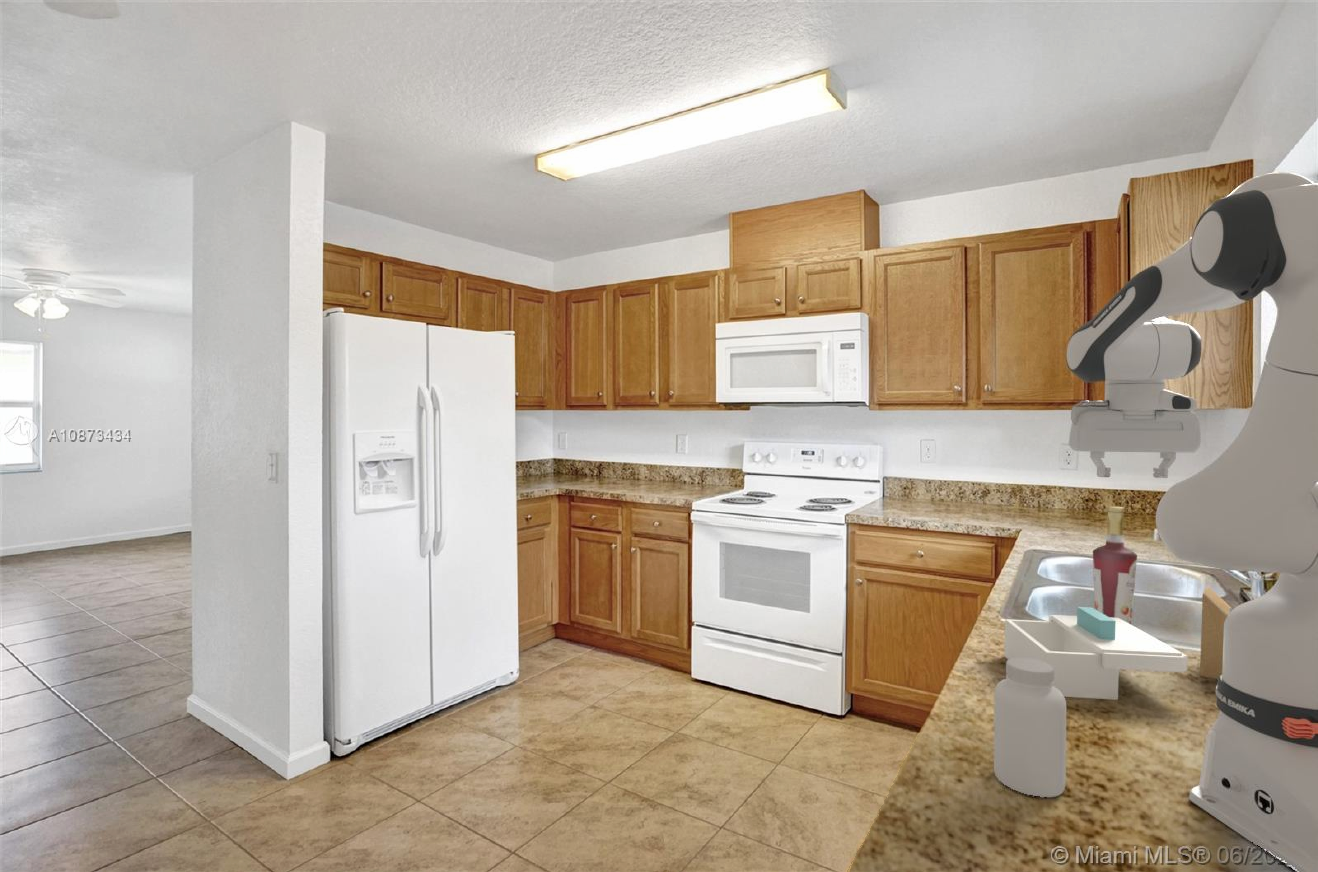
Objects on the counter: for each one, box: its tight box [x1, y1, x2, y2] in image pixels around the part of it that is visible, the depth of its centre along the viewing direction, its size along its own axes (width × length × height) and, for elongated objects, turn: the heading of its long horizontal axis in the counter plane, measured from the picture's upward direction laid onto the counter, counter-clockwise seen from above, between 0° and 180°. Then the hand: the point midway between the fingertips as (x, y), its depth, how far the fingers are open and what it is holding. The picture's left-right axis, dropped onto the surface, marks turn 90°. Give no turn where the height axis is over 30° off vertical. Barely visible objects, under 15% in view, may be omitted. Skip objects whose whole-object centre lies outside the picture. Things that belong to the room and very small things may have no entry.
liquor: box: [1092, 505, 1138, 625], centre depth 133 cm, size 7×7×28 cm
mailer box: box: [1004, 618, 1120, 701], centre depth 118 cm, size 18×11×7 cm, turn 172°
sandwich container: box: [1199, 585, 1234, 680], centre depth 117 cm, size 9×15×15 cm, turn 47°
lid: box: [1048, 606, 1188, 673], centre depth 117 cm, size 20×13×6 cm, turn 172°
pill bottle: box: [993, 658, 1067, 798], centre depth 84 cm, size 8×8×15 cm
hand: (1131, 477), depth 120 cm, fingers open, 8 cm apart
